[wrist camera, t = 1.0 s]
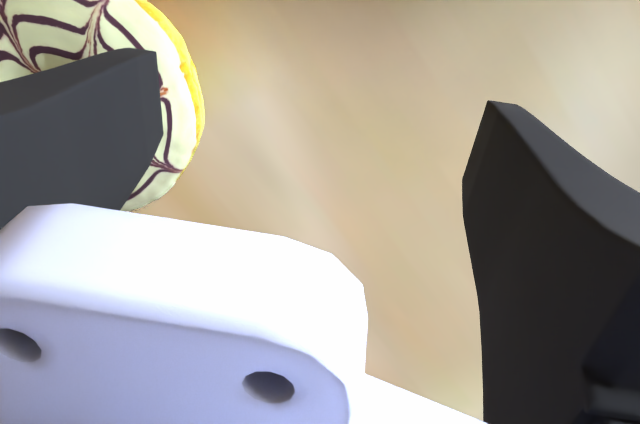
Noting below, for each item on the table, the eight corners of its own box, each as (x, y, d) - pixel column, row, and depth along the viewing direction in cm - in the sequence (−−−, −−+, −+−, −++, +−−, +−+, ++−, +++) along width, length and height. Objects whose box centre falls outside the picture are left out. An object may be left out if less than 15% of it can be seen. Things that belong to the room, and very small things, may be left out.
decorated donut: (-82, -9, 23) (-153, 5, 19) (160, -73, 21) (128, -70, 18) (35, 207, 27) (-6, 247, 24) (237, 166, 26) (224, 202, 23)
